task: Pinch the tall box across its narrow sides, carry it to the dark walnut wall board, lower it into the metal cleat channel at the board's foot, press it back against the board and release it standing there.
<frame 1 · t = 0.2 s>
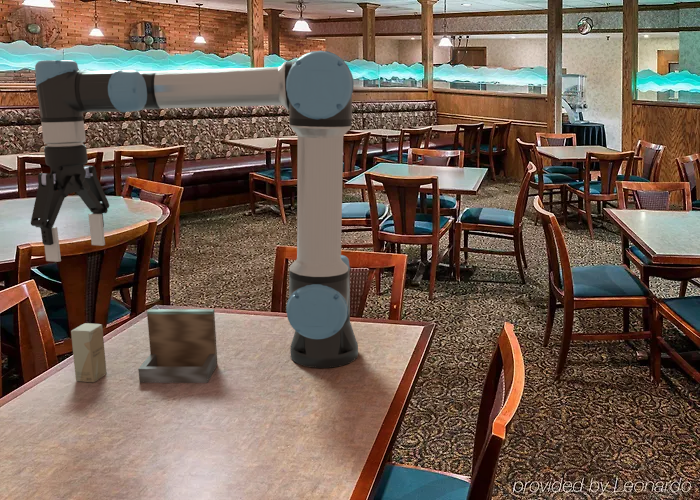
hand: (77, 252, 135), 27 cm above the table, fingers open, 13 cm apart
box: (91, 378, 142), on the table
cleat board: (179, 373, 144), on the table
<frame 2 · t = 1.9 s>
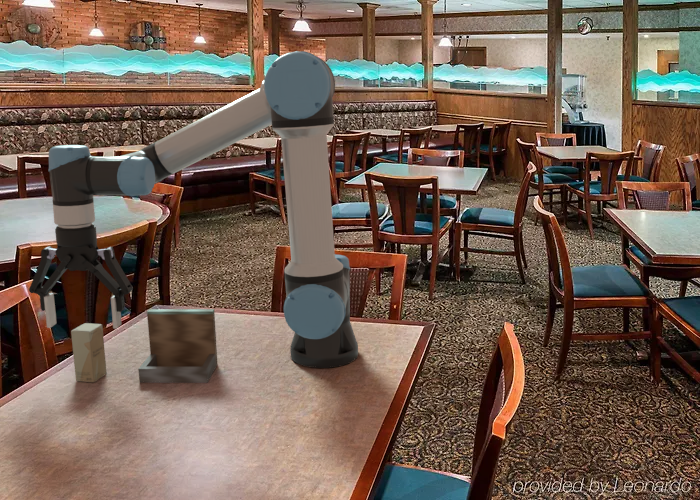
hand: (84, 326, 140), 11 cm above the table, fingers open, 13 cm apart
nothing on the table moved.
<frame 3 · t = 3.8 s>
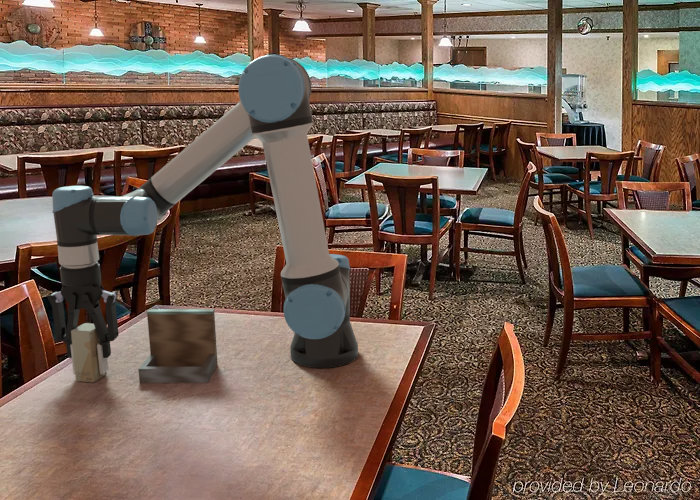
hand: (91, 371, 142), 1 cm above the table, fingers closed on box, 5 cm apart
box: (91, 378, 142), on the table, touching gripper
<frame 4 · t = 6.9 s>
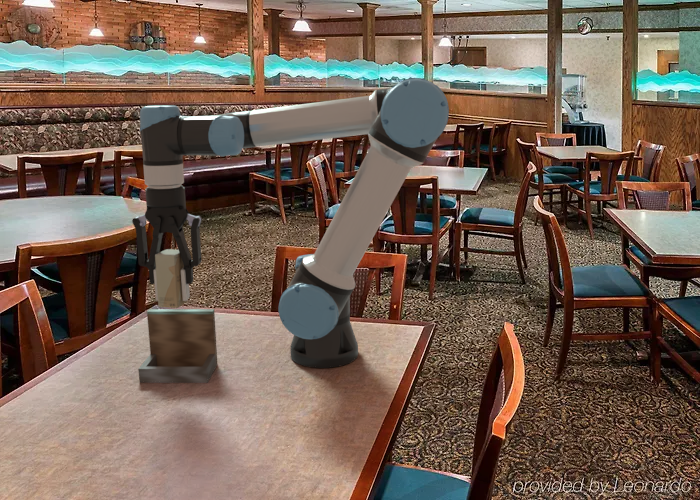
hand: (173, 298, 139), 17 cm above the table, fingers closed on box, 5 cm apart
box: (173, 305, 140), point 15 cm above the table, touching gripper
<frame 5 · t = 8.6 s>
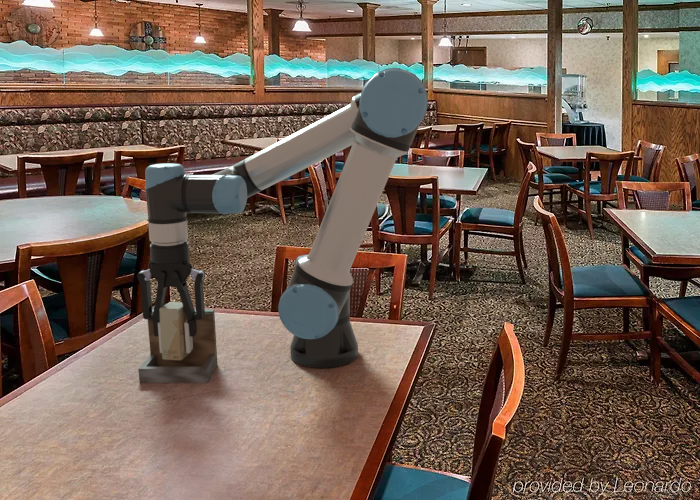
hand: (176, 350, 142), 5 cm above the table, fingers closed on box, 5 cm apart
box: (176, 356, 142), point 4 cm above the table, touching gripper
when the fingers open (4 cm above the table, at t = 10.1 s): box drops 2 cm, resting in cleat board.
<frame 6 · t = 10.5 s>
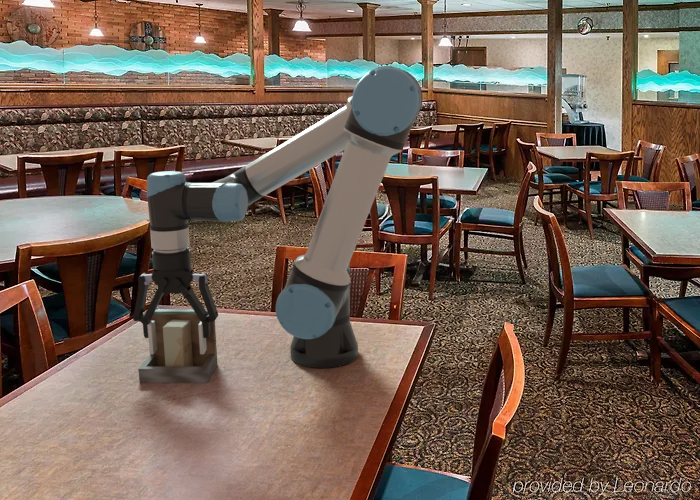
hand: (178, 351, 143), 5 cm above the table, fingers open, 10 cm apart
box: (180, 373, 144), resting in cleat board
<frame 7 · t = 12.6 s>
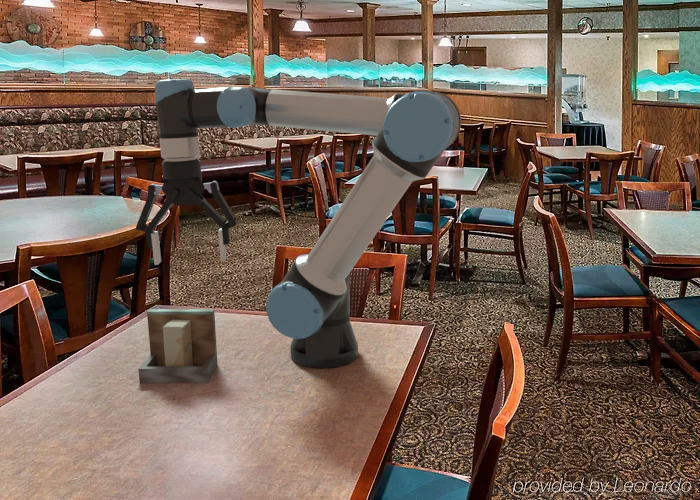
hand: (190, 261, 141), 24 cm above the table, fingers open, 13 cm apart
nothing on the table moved.
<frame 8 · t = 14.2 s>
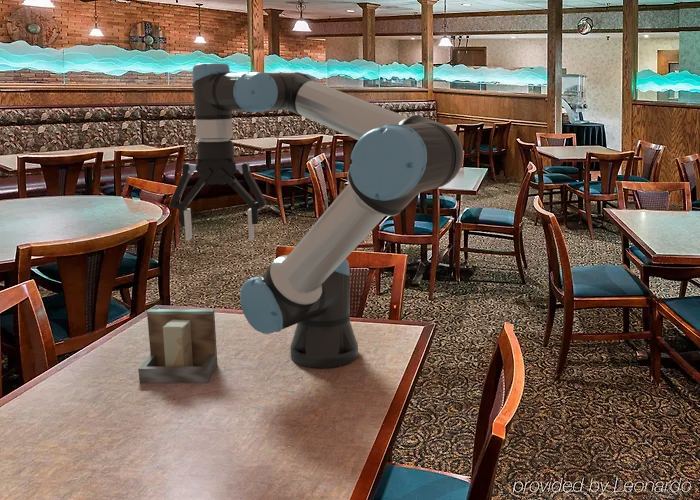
hand: (220, 239, 147), 27 cm above the table, fingers open, 13 cm apart
nothing on the table moved.
at the end: box inside the target area on the cleat board (0.4 cm from its centre), point 0.0 cm above the cleat board's base; box tilted 0°; the gripper is holding nothing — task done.
